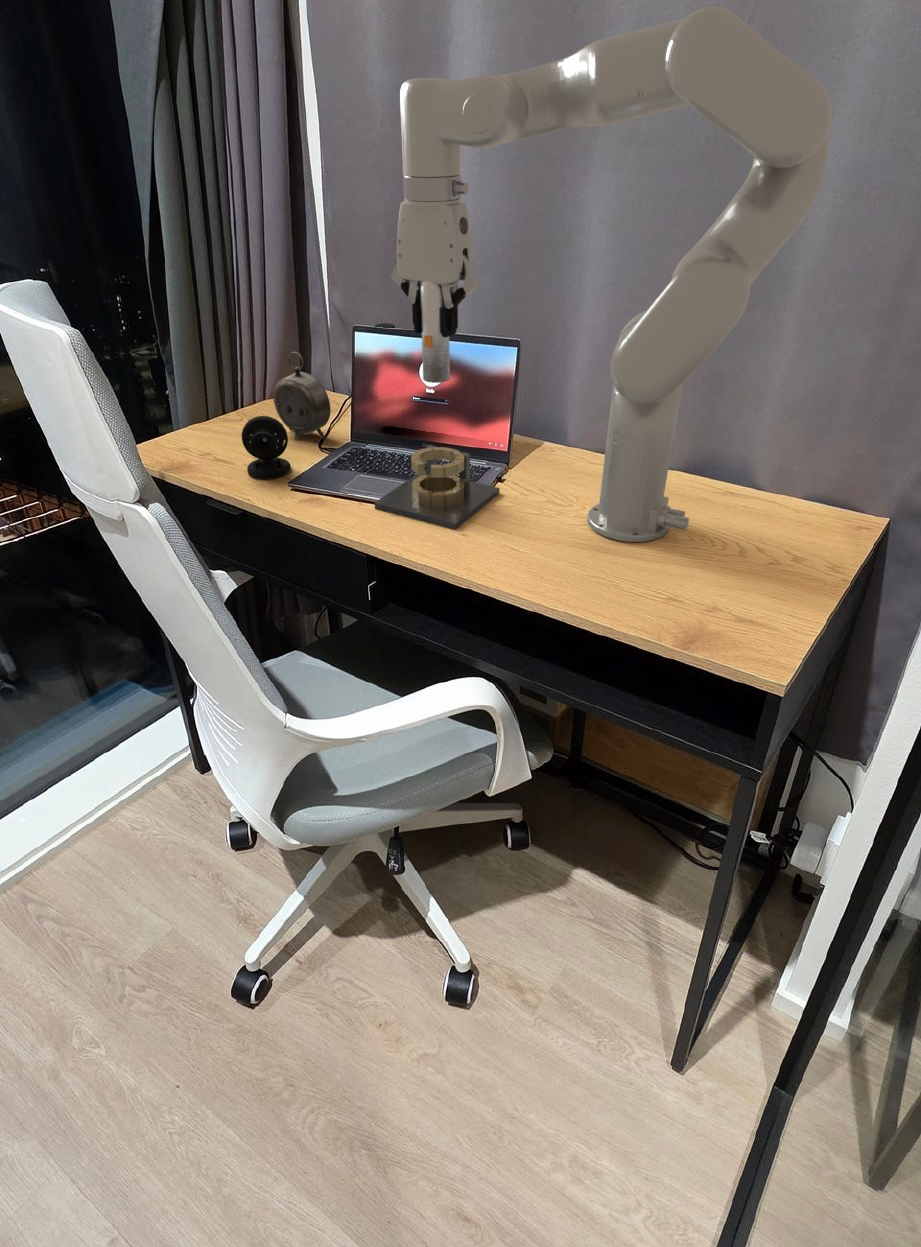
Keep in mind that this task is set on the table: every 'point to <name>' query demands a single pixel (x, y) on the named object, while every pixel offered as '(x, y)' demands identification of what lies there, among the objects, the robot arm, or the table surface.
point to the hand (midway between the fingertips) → (435, 331)
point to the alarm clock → (302, 402)
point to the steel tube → (433, 334)
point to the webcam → (265, 447)
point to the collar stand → (439, 490)
